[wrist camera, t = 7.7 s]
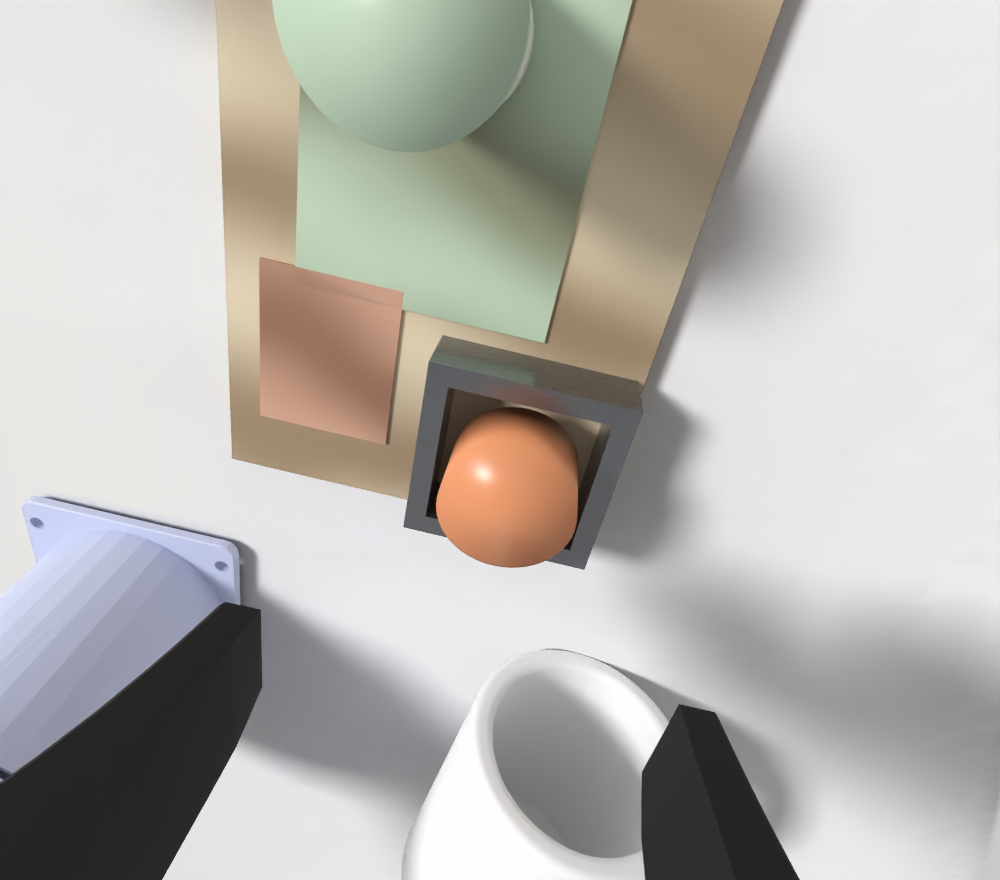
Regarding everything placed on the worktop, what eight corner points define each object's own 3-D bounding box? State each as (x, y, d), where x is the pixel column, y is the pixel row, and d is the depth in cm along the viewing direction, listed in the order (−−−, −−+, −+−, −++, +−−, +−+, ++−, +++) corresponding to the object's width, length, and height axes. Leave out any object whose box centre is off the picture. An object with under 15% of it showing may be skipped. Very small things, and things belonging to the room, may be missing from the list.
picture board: (587, 532, 21) (587, 544, 21) (239, 450, 21) (230, 460, 21) (800, -62, 13) (809, -67, 12) (221, -199, 13) (205, -210, 12)
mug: (424, 758, 29) (375, 969, 23) (489, 621, 24) (450, 840, 17) (663, 832, 30) (685, 1056, 23) (775, 713, 25) (846, 959, 18)
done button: (560, 524, 19) (557, 580, 17) (444, 497, 19) (427, 549, 17) (593, 424, 17) (594, 473, 15) (464, 393, 17) (447, 439, 15)
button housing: (584, 531, 21) (584, 569, 19) (417, 492, 20) (403, 527, 19) (637, 380, 18) (642, 411, 16) (442, 334, 18) (428, 361, 16)
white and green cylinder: (529, 128, 15) (518, 161, 9) (378, 117, 15) (286, 143, 9) (544, -64, 13) (541, -155, 8) (372, -76, 13) (254, -172, 8)
